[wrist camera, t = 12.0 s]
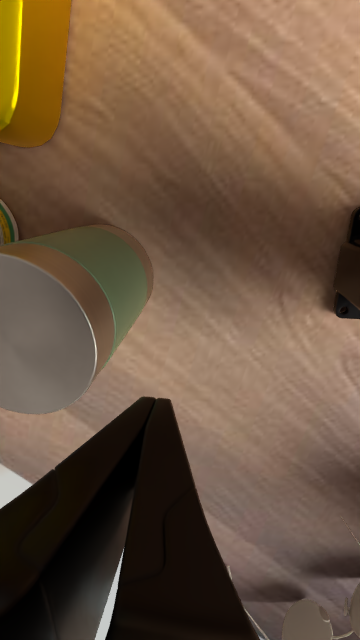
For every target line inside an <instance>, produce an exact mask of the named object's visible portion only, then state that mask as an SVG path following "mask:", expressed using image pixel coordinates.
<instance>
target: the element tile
mask: <svg viewBox="0 0 360 640" xmlns="http://www.w3.org/2000/svg"><path fill="white" fill-rule="evenodd" d="M71 2H72V0H0V142H2V143H6V144H10V145H14V146H19V147H27V148H30V147H36V146H41V145H43V144H44V143H46V142H47V141H48V140H49V139H51V138H52V136H53V134H54V132H55V130H56V128H57V126H58V123H59V119H60V114H61V104H62V93H63V83H64V73H65V63H66V53H67V42H68V32H69V22H70V12H71Z"/></svg>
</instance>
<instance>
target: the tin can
mask: <svg viewBox="0 0 360 640" xmlns="http://www.w3.org/2000/svg"><path fill="white" fill-rule="evenodd" d="M152 288H153V270H152V266H151V262H150V260H149V257H148V255H147V254H146V252H145V250H144V249H143V247H142V246H141V245H140V243H139V242H138V241H137V240H136V239H135V238H133V237H132V236H131V235H130V234H128V233H127V232H125V231H123V230H121V229H119V228H117V227H114V226H110V225H105V224H93V225H88V226H84V227H76V228H72V229H67V230H63V231H59V232H54V233H50V234H46V235H42V236H37V237H33V238H29V239H24V240H20V241H16V242H11V243H7V244H4V245H1V246H0V407H1V408H4V409H6V410H10V411H14V412H18V413H25V414H46V413H51V412H55V411H58V410H61V409H64V408H66V407H68V406H70V405H71V404H73V403H75V402H76V401H77V400H78V399H80V398H81V397H82V396H83V395H84V393H85V392H86V391H87V390H88V388H89V387H90V385H91V384H92V382H93V381H94V379H95V378H96V377H97V375H98V374H99V372H100V371H101V370H102V369H103V368H104V366H105V365H106V364H107V362H108V361H109V359H110V358H111V356H112V355H113V353H114V352H115V350H116V349H117V347H118V346H119V344H120V343H121V341H122V340H123V339H124V337H125V336H126V334H127V333H128V331H129V330H130V328H131V327H132V325H133V324H134V322H135V321H136V319H137V318H138V316H139V315H140V313H141V312H142V309H143V307H144V306H145V304H146V303H147V301H148V299H149V297H150V295H151V292H152Z"/></svg>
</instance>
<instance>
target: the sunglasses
mask: <svg viewBox="0 0 360 640" xmlns="http://www.w3.org/2000/svg"><path fill="white" fill-rule="evenodd" d="M340 517H341V516H340ZM341 518H342V517H341ZM342 520H343V521H344V519H343V518H342ZM344 523H345V524H346V522H345V521H344ZM346 526H347V527H348V525H347V524H346ZM348 529H349V527H348ZM349 531H350V532H351V530H350V529H349ZM351 534H352V535H353V533H352V532H351ZM353 537H354V538H355V540H356V541H357V542H358V544H359V545H360V542H359V541H358V540H357V539H356V537H355V536H354V535H353ZM227 568H228V573H229V575H230V578H231V572H230V567H229V566H227ZM231 580H232V578H231ZM347 603H348V598H347V597H346V599H345V603H344V616H347V614H348V611H349V614H348V615H349V616H350V624H351V627H352V630H351V631H349V632H348V633H346V634H343V635H339V636H333V633H332V627H331V624H330V618H329V615H328V613H327V612H326V610H325V609H324V608H323V607H322V606H319V605H318V604H317V603H316V602H314V601H312V600H308V599H304V600H300V601H297V602H296V603H294V604H293V605H292V606H291V607H290V608H289V610H288V611H287V613H286V616H285V619H284V622H283V629H282V640H332V639H339V638H343V637H347V636H349V635H350V634H352V633H353V632H355V634H356V635H357V636H358V637H359V638H360V583H359V584H358V586H357V587H356V589H355V591H354V593H353V595H352V599H351V602H350V608H349V607H348V606H347ZM243 607H244V606H243ZM244 609H245V607H244ZM245 611H246V610H245ZM246 612H247V611H246ZM247 614H248V615H249V613H248V612H247ZM249 616H250V615H249ZM250 618H251V619H252V620H253V618H252V617H251V616H250ZM253 622H254V623H255V624H256V626H257V627H258V629H259V630H260V631H261V633H262V634H263V635H264V637H265V638H266V639H267V640H269V638H268V637H267V636H266V635H265V633H264V632H263V631H262V630H261V628H260V627H259V626H258V625H257V623H256V622H255V621H254V620H253Z"/></svg>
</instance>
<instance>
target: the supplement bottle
mask: <svg viewBox="0 0 360 640" xmlns="http://www.w3.org/2000/svg"><path fill="white" fill-rule="evenodd" d="M18 239H19V235H18V228H17V224H16V221H15V219H14V217H13V215H12V213H11V211H10V210H9V208H8V207H7V206H6V204H5V203H4V202H3V201H2V200H1V199H0V246H1V245H4V244H7V243H11V242H16V241H18Z"/></svg>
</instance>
